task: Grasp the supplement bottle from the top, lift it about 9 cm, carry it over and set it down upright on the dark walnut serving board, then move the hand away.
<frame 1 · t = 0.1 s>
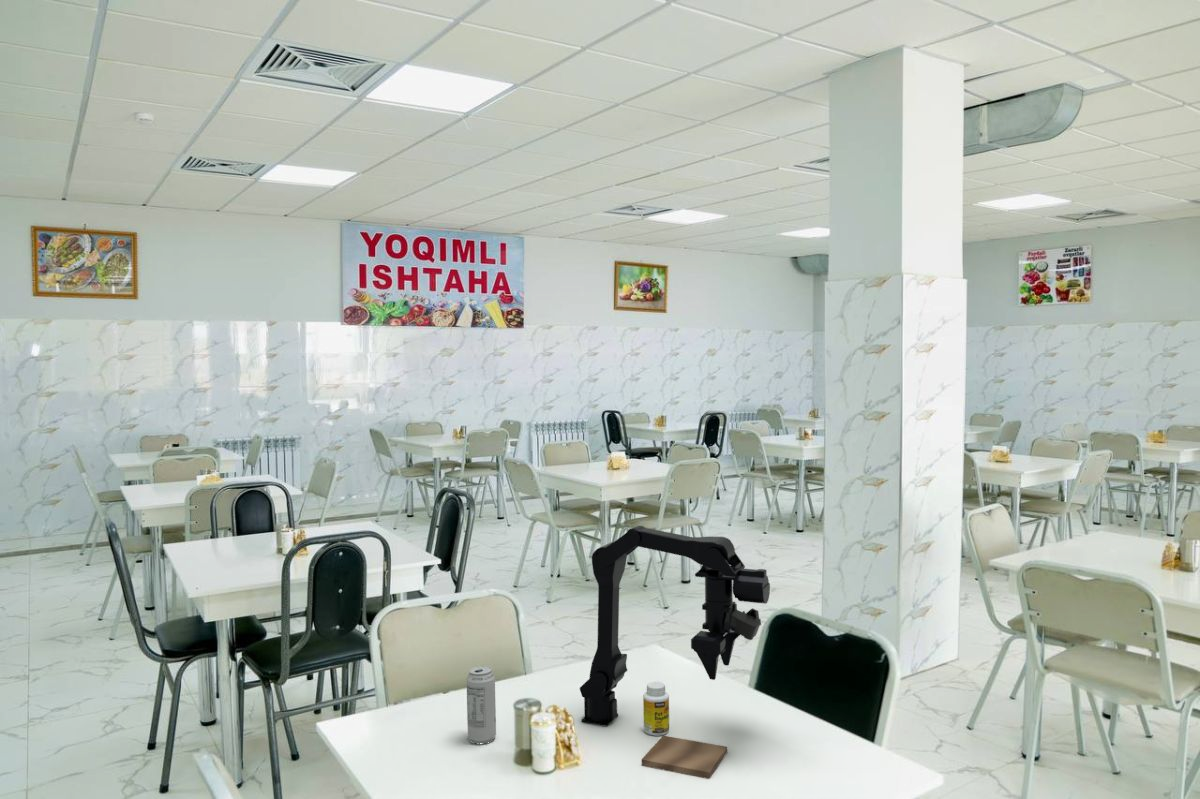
hand: (719, 672, 178), 15 cm above the table, tool pointing down, fingers open, 9 cm apart
energy drink can: (482, 740, 181), on the table
walnut board: (685, 758, 170), on the table
supplement bottle: (656, 732, 183), on the table
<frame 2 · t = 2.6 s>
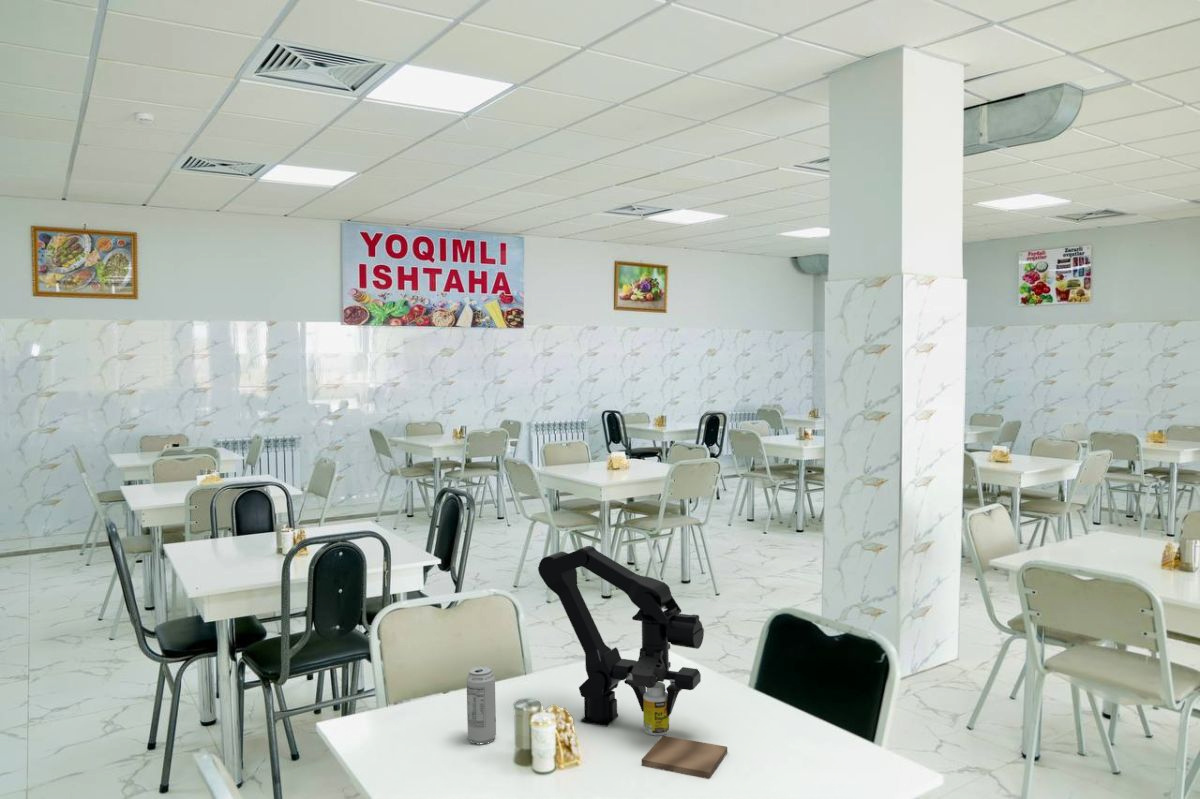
hand: (656, 712, 183), 4 cm above the table, tool pointing down, fingers closed on supplement bottle, 5 cm apart
supplement bottle: (656, 732, 183), on the table, touching gripper
everything else where it was.
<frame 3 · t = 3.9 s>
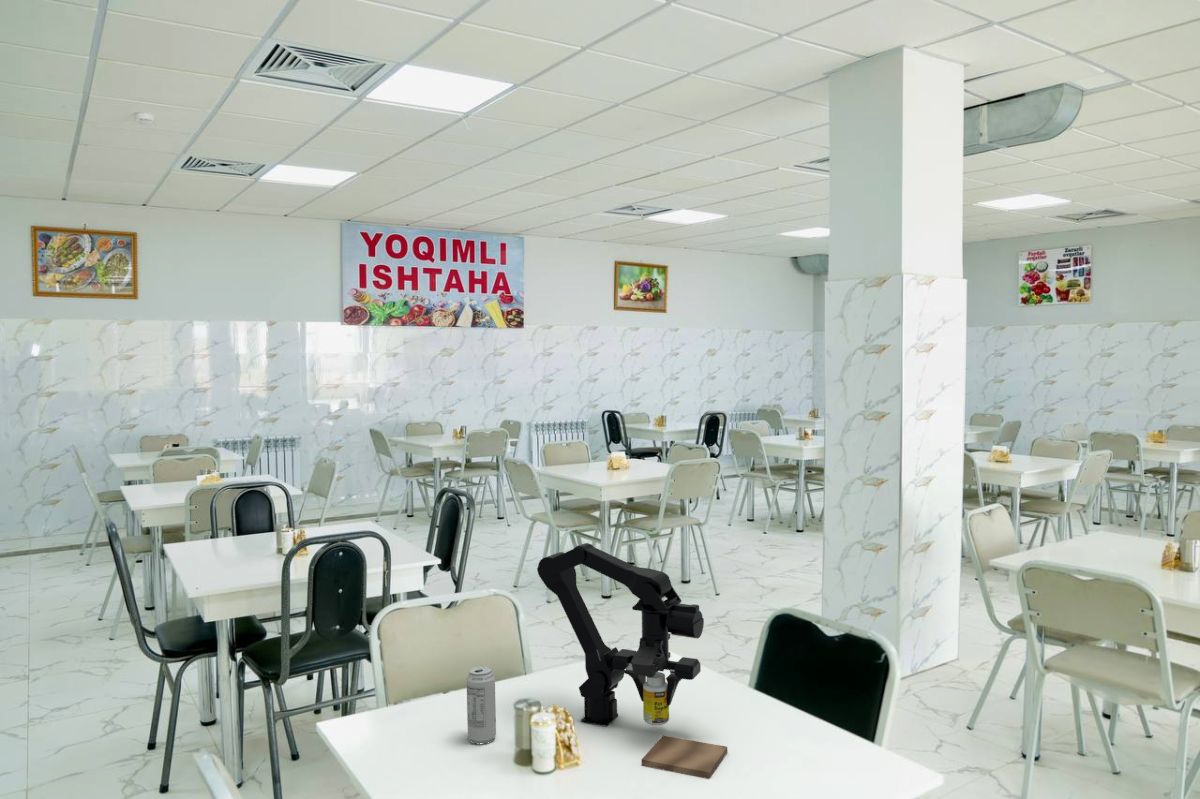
hand: (656, 703, 183), 6 cm above the table, tool pointing down, fingers closed on supplement bottle, 5 cm apart
supplement bottle: (656, 722, 183), point 2 cm above the table, touching gripper
everything else where it was.
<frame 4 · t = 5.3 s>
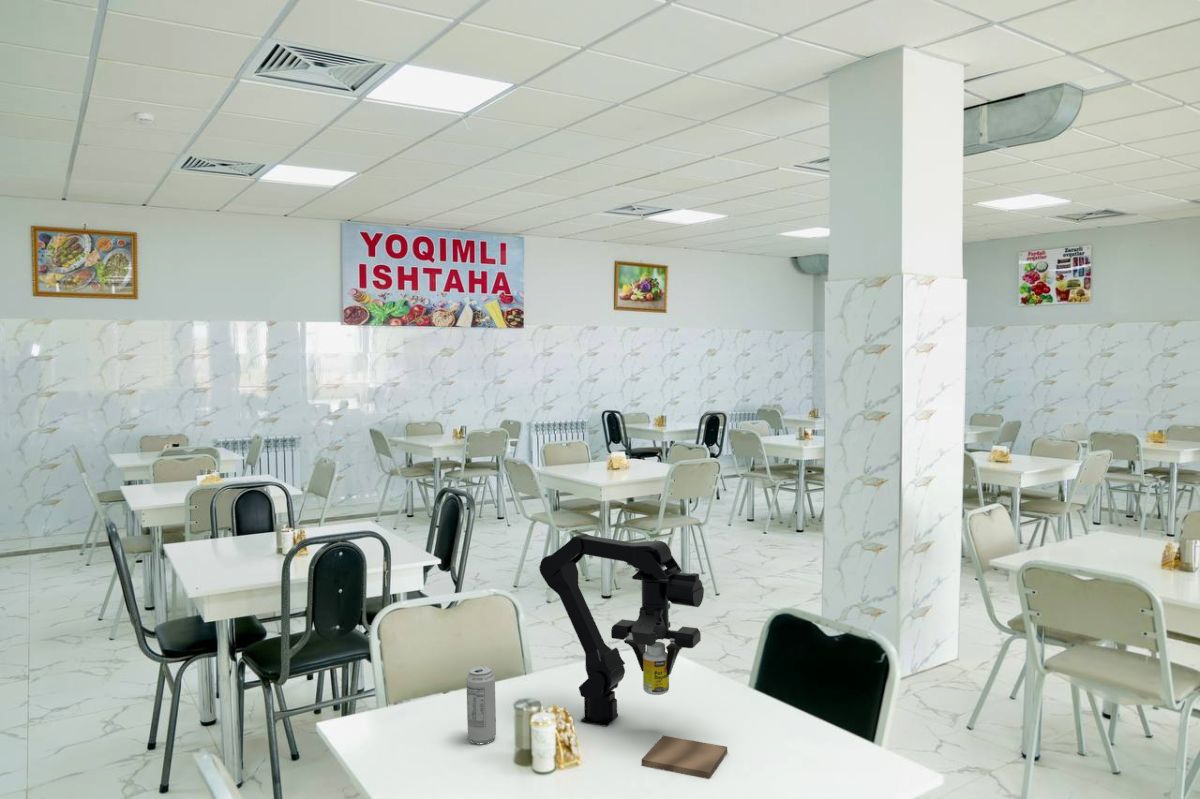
hand: (656, 672, 183), 13 cm above the table, tool pointing down, fingers closed on supplement bottle, 5 cm apart
supplement bottle: (656, 692, 183), point 9 cm above the table, touching gripper
everything else where it was.
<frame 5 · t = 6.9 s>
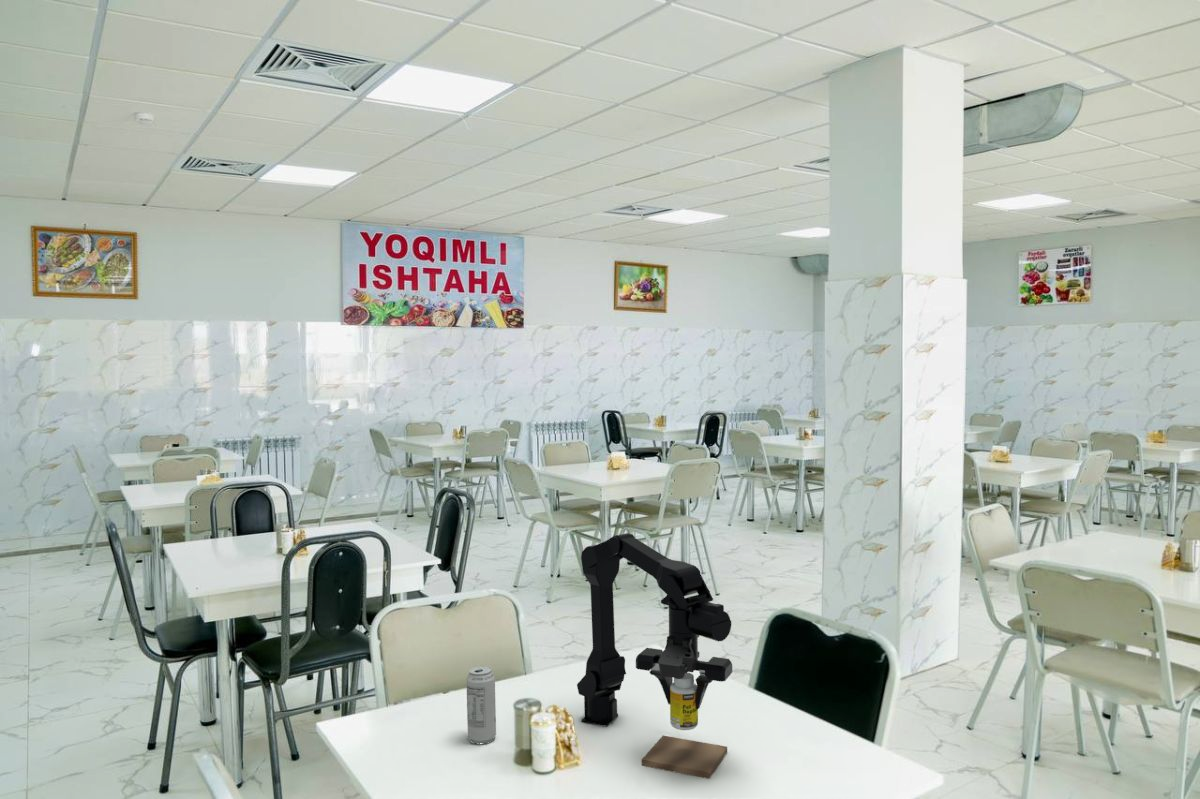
hand: (683, 706, 170), 11 cm above the table, tool pointing down, fingers closed on supplement bottle, 5 cm apart
supplement bottle: (684, 726, 170), point 7 cm above the table, touching gripper
everything else where it was.
when the fingers open (6 cm above the table, at t = 8.2 s): supplement bottle drops 1 cm, resting on walnut board.
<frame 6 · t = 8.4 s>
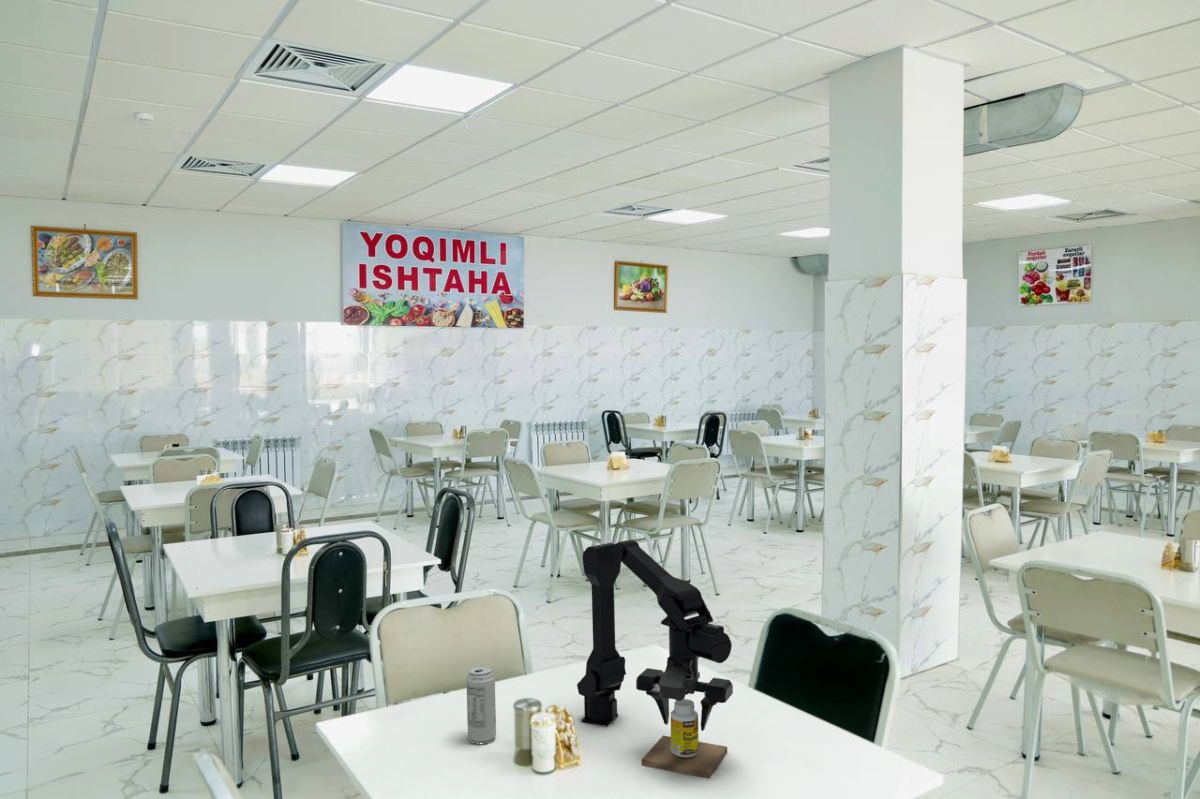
hand: (684, 727, 170), 6 cm above the table, tool pointing down, fingers open, 7 cm apart
supplement bottle: (684, 753, 170), point 1 cm above the table, touching walnut board
everything else where it was.
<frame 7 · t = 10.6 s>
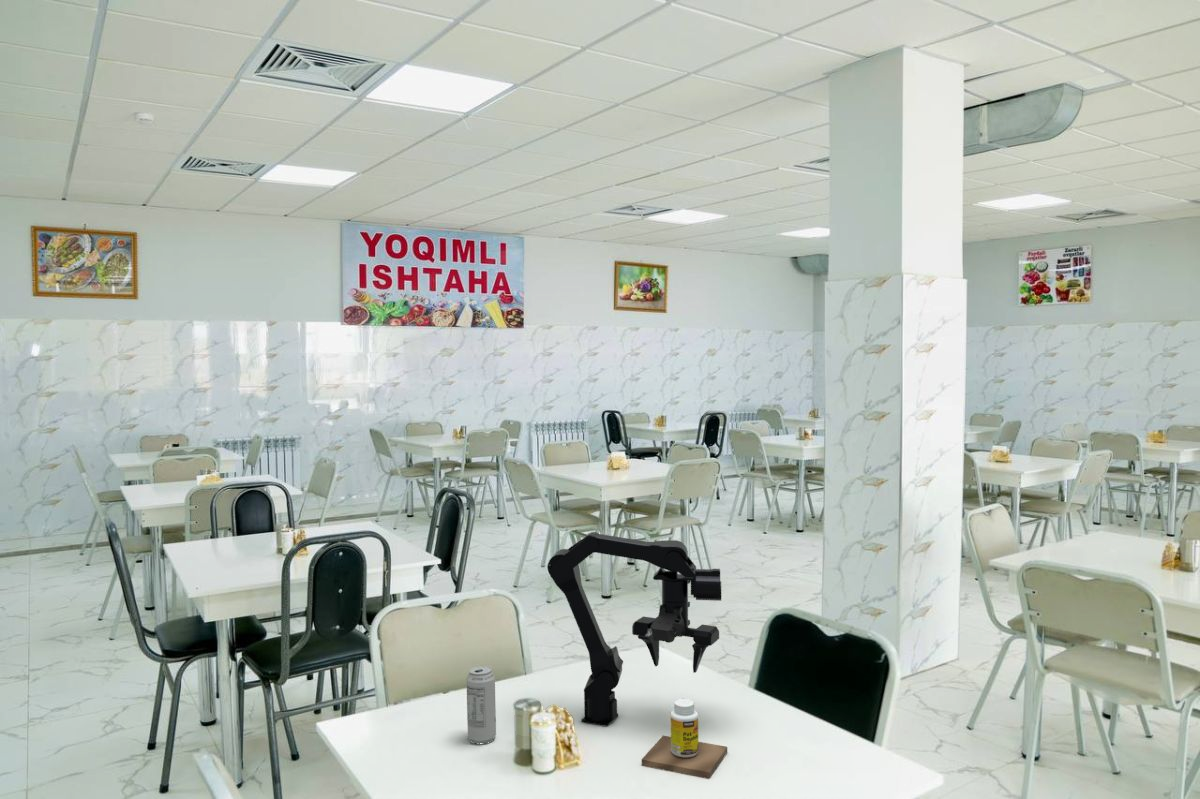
hand: (675, 669, 187), 12 cm above the table, tool pointing down, fingers open, 9 cm apart
nothing on the table moved.
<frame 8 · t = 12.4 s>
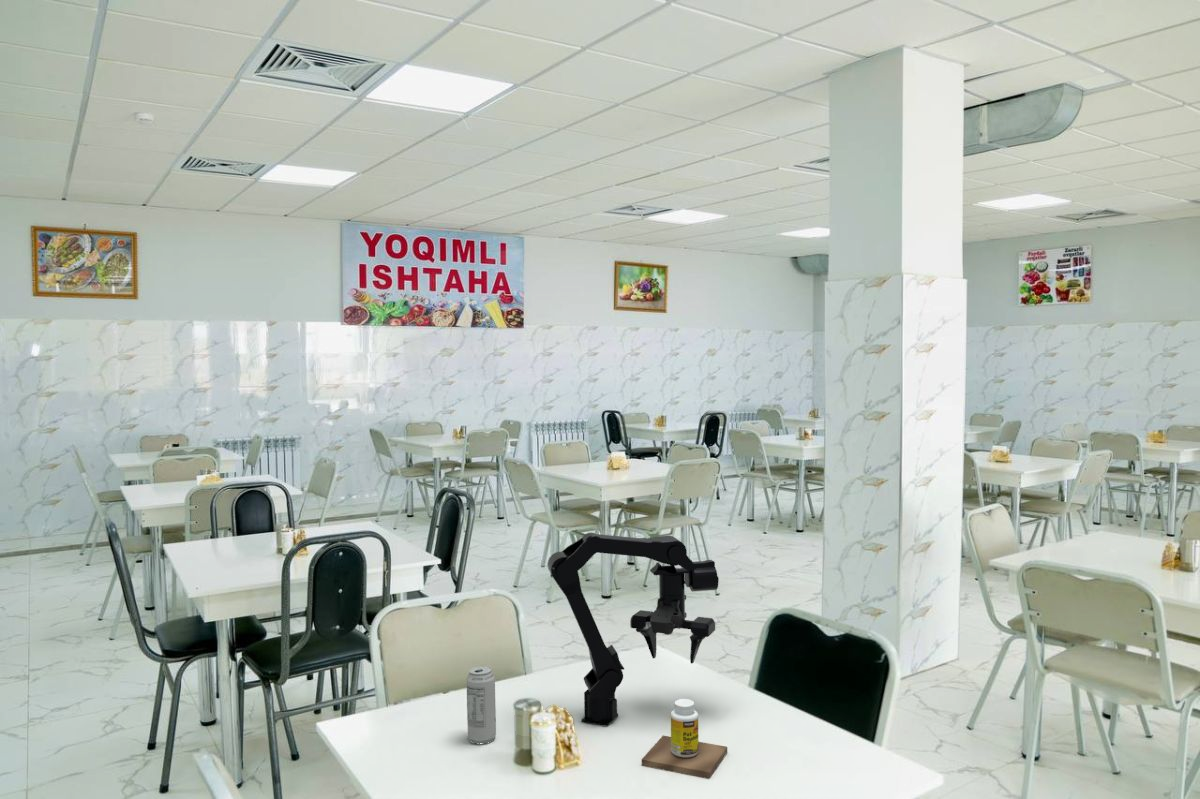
hand: (672, 660, 193), 12 cm above the table, tool pointing down, fingers open, 9 cm apart
nothing on the table moved.
at the end: supplement bottle inside the target area on the walnut board (0.1 cm from its centre), point 1.0 cm above the walnut board's base; supplement bottle tilted 0°; the gripper is holding nothing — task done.
